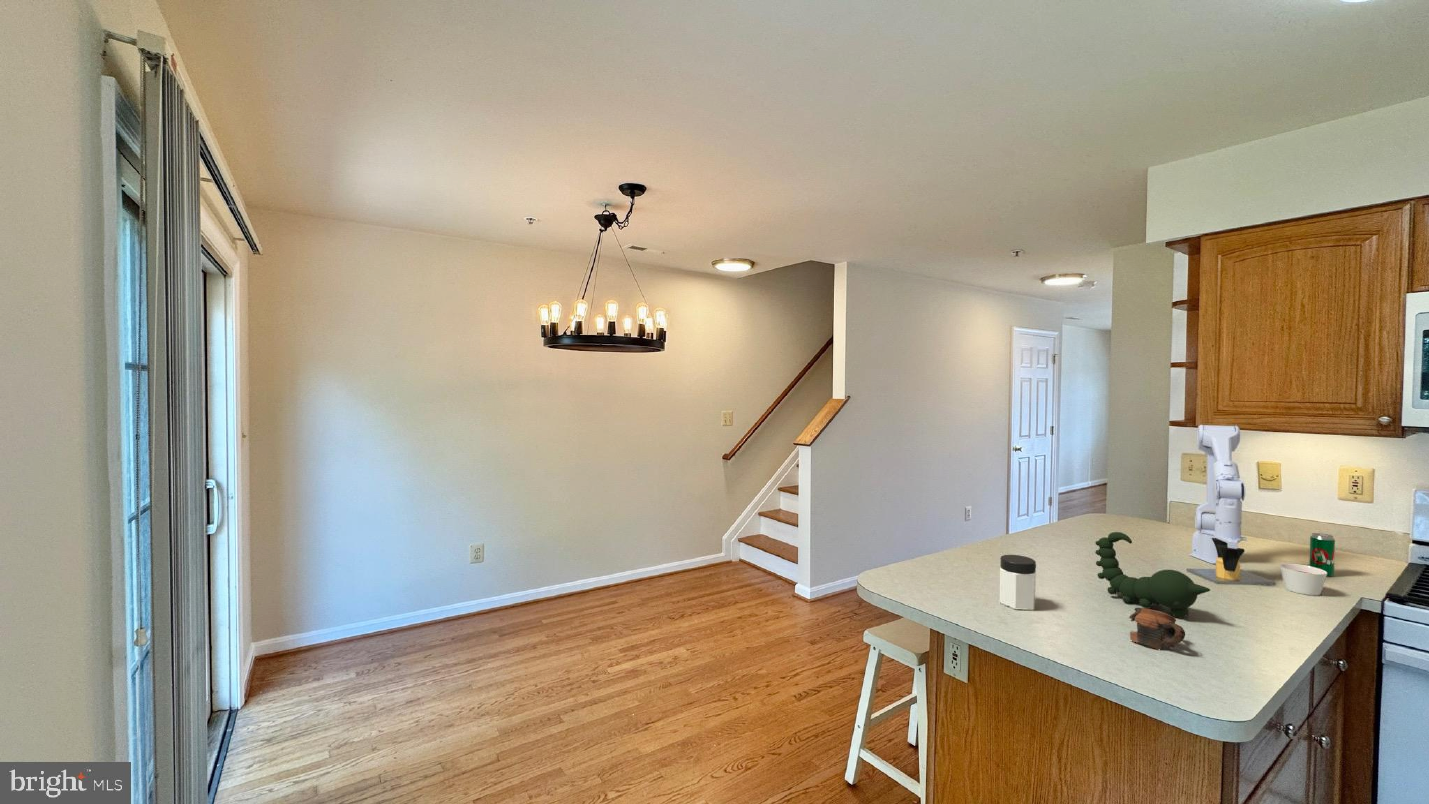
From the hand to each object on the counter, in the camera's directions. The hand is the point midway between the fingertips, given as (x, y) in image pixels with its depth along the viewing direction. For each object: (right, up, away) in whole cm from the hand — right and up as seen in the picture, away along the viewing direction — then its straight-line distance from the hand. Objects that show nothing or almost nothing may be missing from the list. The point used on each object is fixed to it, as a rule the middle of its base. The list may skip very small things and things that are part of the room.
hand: (1226, 567), depth 164 cm
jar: (-71, -5, -18) cm, 74 cm away
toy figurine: (-38, -5, -20) cm, 43 cm away
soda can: (+32, -4, +4) cm, 33 cm away
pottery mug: (-52, -6, -40) cm, 66 cm away
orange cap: (0, -3, 0) cm, 3 cm away
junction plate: (+2, -4, +1) cm, 4 cm away
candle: (+12, -4, -9) cm, 16 cm away
